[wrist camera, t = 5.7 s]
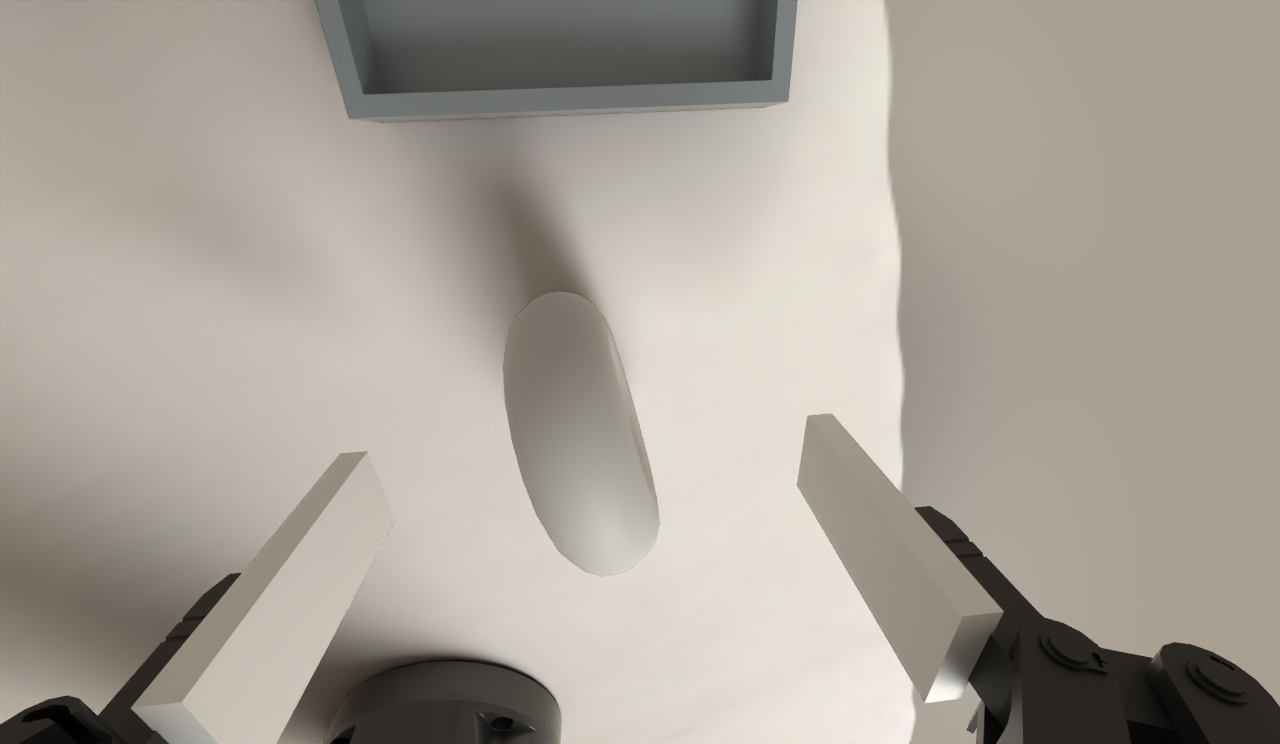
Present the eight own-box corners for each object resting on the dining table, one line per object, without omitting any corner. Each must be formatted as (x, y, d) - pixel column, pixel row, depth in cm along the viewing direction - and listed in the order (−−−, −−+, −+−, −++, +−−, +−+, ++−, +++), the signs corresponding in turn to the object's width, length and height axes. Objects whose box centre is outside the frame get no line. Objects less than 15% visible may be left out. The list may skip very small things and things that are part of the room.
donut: (650, 444, 23) (688, 630, 14) (585, 461, 23) (582, 658, 14) (593, 251, 19) (596, 347, 10) (513, 274, 19) (441, 389, 10)
